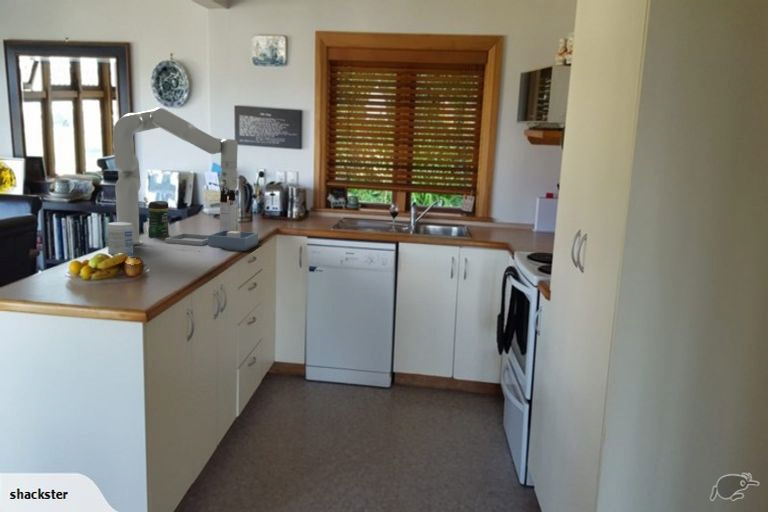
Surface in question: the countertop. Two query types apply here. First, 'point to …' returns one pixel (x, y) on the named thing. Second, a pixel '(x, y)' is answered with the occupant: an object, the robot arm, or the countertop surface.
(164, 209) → the coffee jar
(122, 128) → the robot arm
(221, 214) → the cracker box
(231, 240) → the bin
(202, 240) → the tray
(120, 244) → the supplement tub
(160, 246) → the countertop surface
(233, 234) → the stone block
